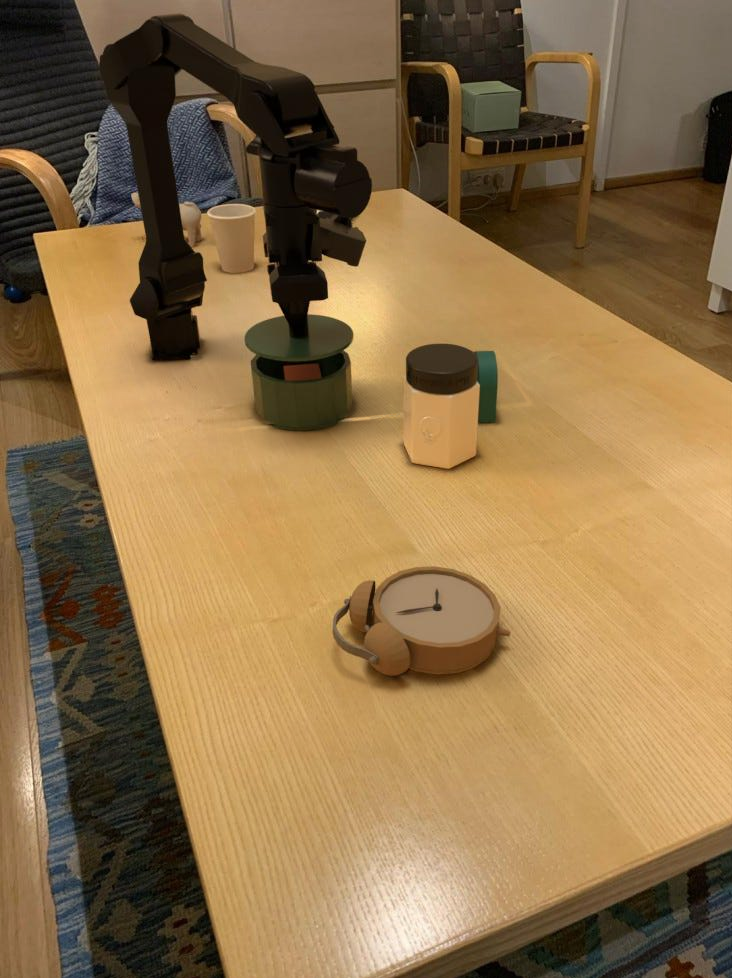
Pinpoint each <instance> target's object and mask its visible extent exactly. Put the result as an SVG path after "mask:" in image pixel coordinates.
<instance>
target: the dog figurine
mask: <svg viewBox="0 0 732 978" xmlns="http://www.w3.org/2000/svg"><path fill="white" fill-rule="evenodd" d="M130 194H131V200H132V203H133V204H134V206H135V207H137V209H138V208H139V209H141V206H140V201H139V195H138V192H133V193H130ZM179 206H180V213H181V219H182V226H183V231H185V232H187V236H188V242H187V243H188V244H189V245H190V246H191V248H193V247H195V245H196V242H199V241H201V240H202V230H201V228H202V224H201V221H202V211H201V210H200V209H199V207H198V205H197V204H196V203H194V202H192V201H187V200H185V201H184V202H183V203H179Z"/></svg>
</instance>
